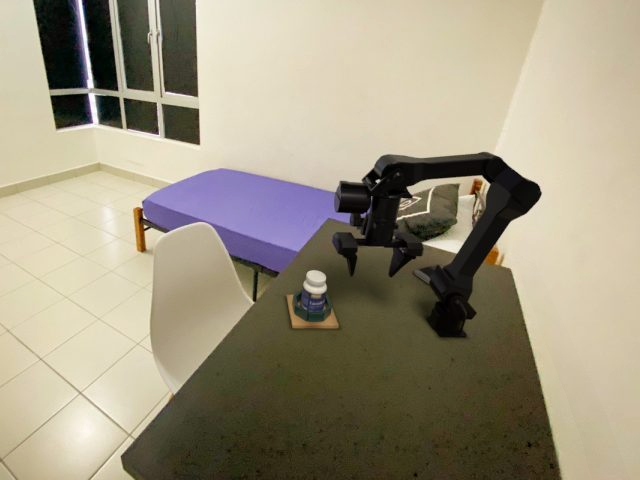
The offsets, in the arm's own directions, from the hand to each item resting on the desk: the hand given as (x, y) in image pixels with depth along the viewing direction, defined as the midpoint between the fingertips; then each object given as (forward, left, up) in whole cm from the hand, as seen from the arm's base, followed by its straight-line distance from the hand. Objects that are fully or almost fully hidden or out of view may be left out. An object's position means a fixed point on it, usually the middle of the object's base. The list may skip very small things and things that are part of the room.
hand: (370, 276), depth 76 cm
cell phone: (-29, -19, -13) cm, 37 cm away
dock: (+12, -3, -13) cm, 18 cm away
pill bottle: (+12, -3, -12) cm, 17 cm away
